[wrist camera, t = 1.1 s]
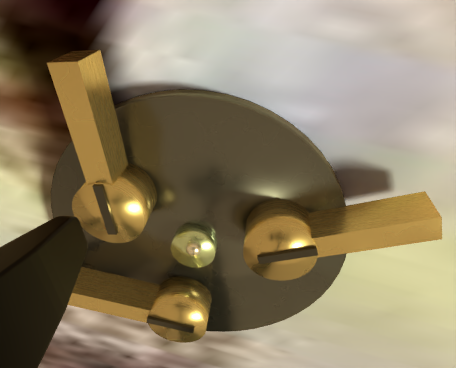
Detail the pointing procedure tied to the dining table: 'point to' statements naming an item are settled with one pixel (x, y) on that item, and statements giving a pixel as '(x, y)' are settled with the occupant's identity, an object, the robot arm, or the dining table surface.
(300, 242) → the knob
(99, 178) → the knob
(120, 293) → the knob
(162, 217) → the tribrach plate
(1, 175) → the dining table surface
